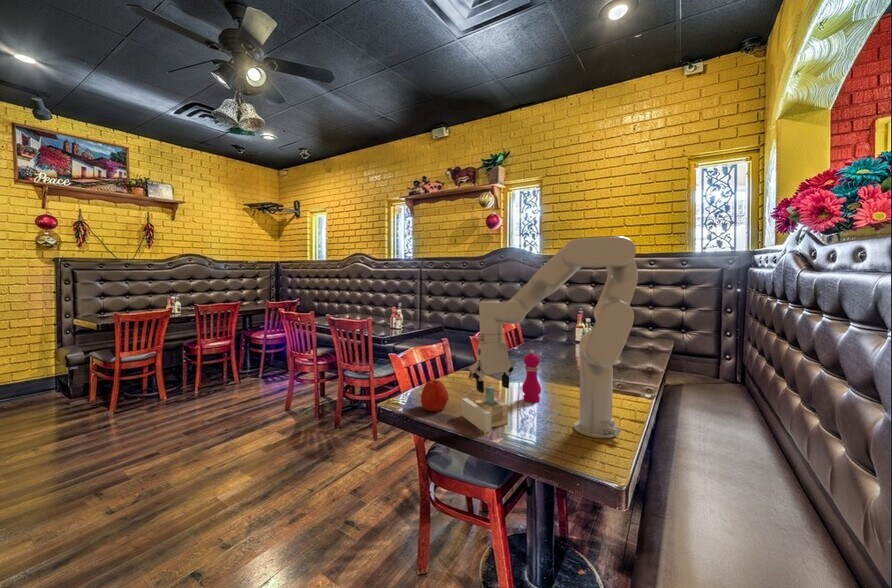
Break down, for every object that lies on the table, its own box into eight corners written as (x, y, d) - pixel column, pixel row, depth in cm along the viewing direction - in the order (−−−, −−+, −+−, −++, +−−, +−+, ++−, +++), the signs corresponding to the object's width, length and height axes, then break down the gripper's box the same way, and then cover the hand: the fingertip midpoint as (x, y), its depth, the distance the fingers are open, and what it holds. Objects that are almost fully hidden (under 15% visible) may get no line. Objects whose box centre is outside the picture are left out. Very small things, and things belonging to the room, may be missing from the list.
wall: (490, 431, 116) (490, 412, 116) (485, 432, 115) (485, 413, 115) (466, 414, 131) (466, 398, 131) (461, 415, 130) (461, 398, 130)
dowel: (496, 418, 124) (495, 388, 123) (488, 419, 122) (488, 389, 122) (491, 415, 126) (491, 386, 126) (484, 416, 125) (484, 387, 125)
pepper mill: (539, 397, 149) (539, 348, 149) (542, 403, 142) (542, 351, 141) (521, 397, 150) (521, 348, 149) (523, 403, 143) (523, 351, 142)
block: (507, 424, 122) (507, 404, 122) (486, 428, 119) (486, 408, 119) (494, 415, 130) (494, 397, 129) (474, 419, 126) (474, 400, 126)
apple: (454, 408, 137) (453, 380, 137) (433, 415, 130) (433, 386, 130) (435, 401, 145) (435, 375, 144) (414, 408, 138) (414, 380, 137)
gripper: (474, 342, 116) (476, 396, 117) (520, 337, 123) (521, 388, 124) (463, 339, 123) (464, 390, 124) (507, 334, 130) (508, 383, 131)
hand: (493, 389), depth 124 cm, fingers open, 9 cm apart
